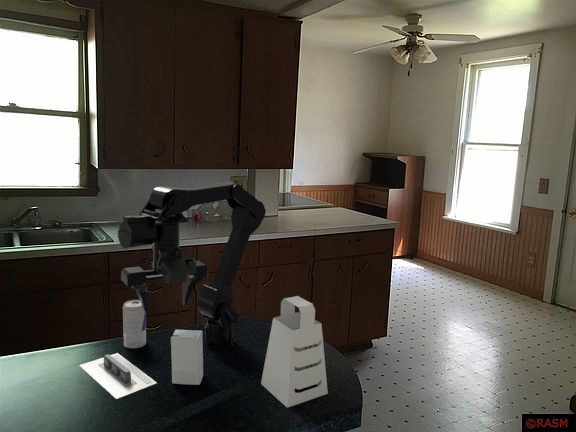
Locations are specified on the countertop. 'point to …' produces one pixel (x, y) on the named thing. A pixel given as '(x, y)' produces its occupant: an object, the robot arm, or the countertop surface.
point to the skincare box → (187, 357)
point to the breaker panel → (117, 377)
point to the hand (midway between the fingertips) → (165, 308)
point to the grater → (295, 354)
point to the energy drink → (134, 324)
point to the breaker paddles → (117, 368)
